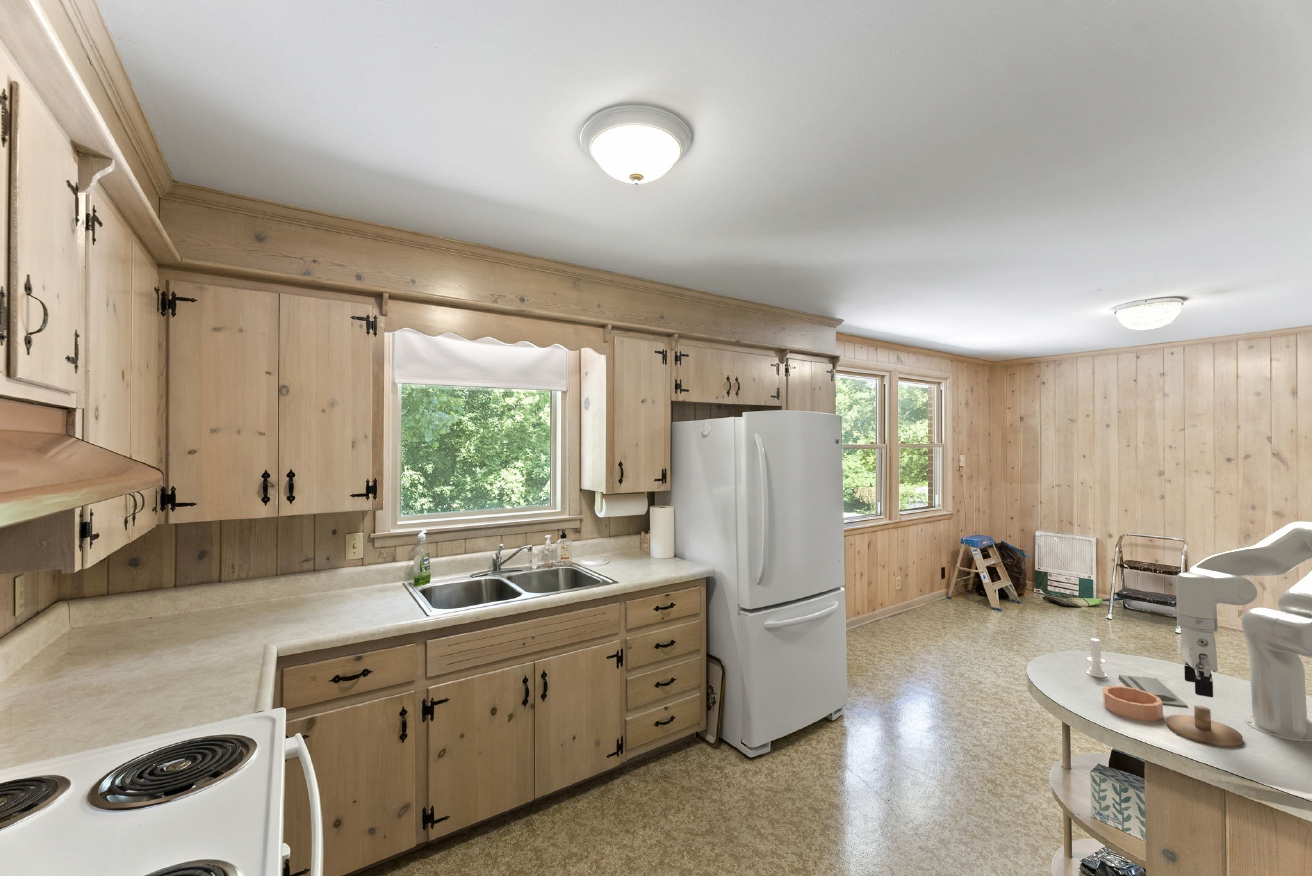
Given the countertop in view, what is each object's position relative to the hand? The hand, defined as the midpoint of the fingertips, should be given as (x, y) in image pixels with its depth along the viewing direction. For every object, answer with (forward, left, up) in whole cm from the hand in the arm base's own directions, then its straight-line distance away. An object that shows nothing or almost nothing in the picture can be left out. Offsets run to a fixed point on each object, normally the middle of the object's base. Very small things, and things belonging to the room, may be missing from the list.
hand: (1198, 688), depth 142 cm
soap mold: (+5, -26, -13) cm, 29 cm away
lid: (-1, 0, -11) cm, 11 cm away
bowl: (+12, -7, -12) cm, 19 cm away
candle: (+17, -35, -13) cm, 41 cm away
